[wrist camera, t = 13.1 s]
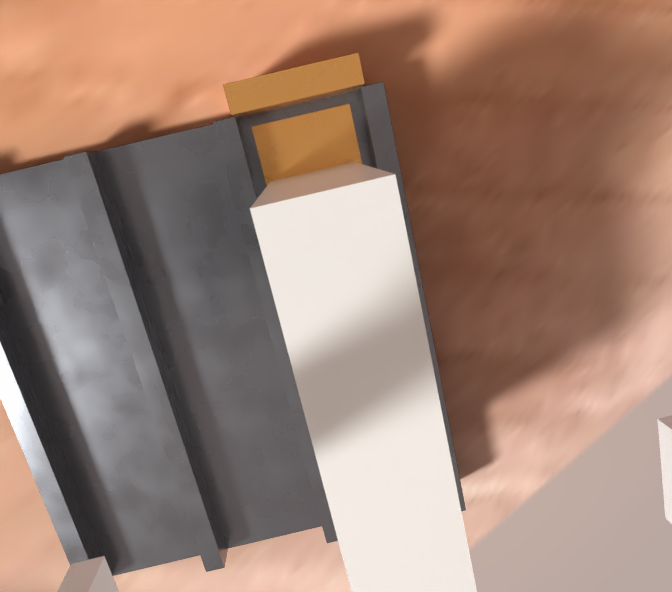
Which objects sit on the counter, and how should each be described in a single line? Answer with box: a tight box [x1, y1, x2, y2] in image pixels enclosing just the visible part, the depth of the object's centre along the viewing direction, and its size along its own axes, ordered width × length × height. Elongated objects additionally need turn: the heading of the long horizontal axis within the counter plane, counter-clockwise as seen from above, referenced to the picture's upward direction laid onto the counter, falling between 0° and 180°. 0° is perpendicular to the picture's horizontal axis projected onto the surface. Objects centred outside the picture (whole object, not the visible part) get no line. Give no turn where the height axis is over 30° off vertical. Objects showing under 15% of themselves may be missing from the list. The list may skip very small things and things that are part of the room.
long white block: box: [250, 162, 477, 592], centre depth 23 cm, size 16×4×12 cm, turn 13°
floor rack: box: [0, 53, 466, 576], centre depth 28 cm, size 23×21×4 cm
